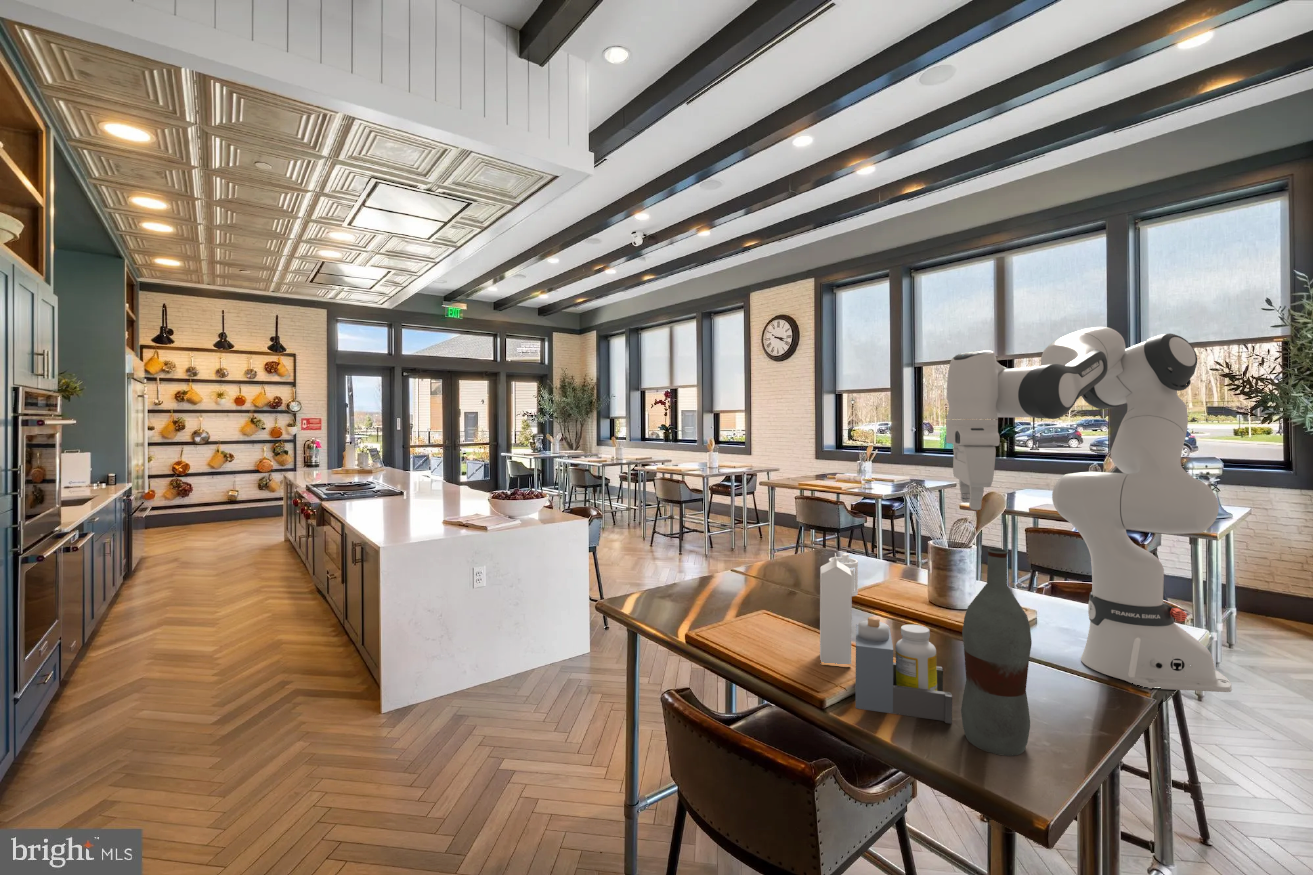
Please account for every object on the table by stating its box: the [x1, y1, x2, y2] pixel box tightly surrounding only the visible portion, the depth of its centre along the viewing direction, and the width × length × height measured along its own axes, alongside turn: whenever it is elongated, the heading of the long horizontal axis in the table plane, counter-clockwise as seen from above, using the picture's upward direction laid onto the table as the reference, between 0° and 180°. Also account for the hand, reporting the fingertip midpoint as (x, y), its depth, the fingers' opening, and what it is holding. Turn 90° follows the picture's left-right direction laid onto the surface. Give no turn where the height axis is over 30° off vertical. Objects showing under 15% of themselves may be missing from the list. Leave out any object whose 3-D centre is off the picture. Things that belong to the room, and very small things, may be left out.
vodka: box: [960, 547, 1032, 757], centre depth 91 cm, size 9×9×30 cm
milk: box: [819, 552, 853, 665], centre depth 122 cm, size 6×6×22 cm
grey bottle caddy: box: [855, 616, 953, 725], centre depth 106 cm, size 15×15×14 cm
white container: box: [828, 553, 859, 597], centre depth 151 cm, size 7×7×15 cm
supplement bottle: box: [895, 624, 938, 691], centre depth 105 cm, size 7×7×13 cm
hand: (970, 505), depth 115 cm, fingers open, 8 cm apart
